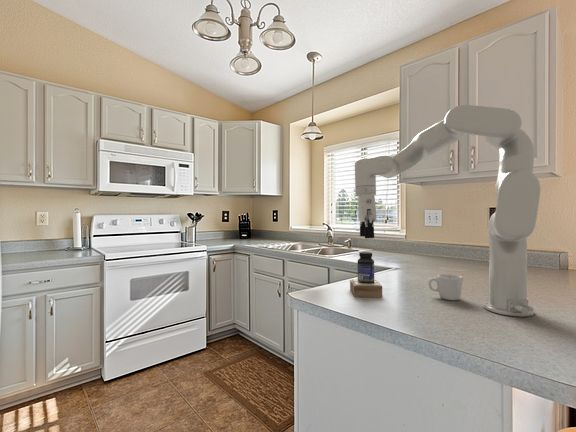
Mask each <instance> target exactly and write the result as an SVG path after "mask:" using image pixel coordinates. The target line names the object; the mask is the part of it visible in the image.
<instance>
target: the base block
mask: <svg viewBox="0 0 576 432" xmlns="http://www.w3.org/2000/svg"><path fill="white" fill-rule="evenodd" d="M349 285H350V286H349V289H350V293H351V294H352V295H353V296H352V297H354V298H383V286H382V284H381V283H380V282H379V281H377V280H376V279H374V283H370V284H367V283H360V282H358V279H350V280H349Z"/></svg>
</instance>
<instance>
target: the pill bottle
mask: <svg viewBox="0 0 576 432" xmlns="http://www.w3.org/2000/svg"><path fill="white" fill-rule="evenodd" d="M358 256H359V258H358V259H357V280H358V282H360V283H367V284H370V283H374V280H375V260H374V259H373V252H369V251H363V252H362V251H361V252H359V255H358Z"/></svg>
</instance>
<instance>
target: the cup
mask: <svg viewBox="0 0 576 432" xmlns="http://www.w3.org/2000/svg"><path fill="white" fill-rule="evenodd" d="M463 280H464V278H463V276H461V275H459V274H454V273H453V274H452V273H440V274H437V277H431V278H430V279H429V280H428V287H429V289H430V290H431V291H434V292H438V294H439V297H440V298H441V299H444V300H447V301H458V300H460V299H461V295H462V287H463ZM433 281H435V282H436V287H433V286H432V282H433Z"/></svg>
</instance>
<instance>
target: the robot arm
mask: <svg viewBox="0 0 576 432" xmlns="http://www.w3.org/2000/svg"><path fill="white" fill-rule="evenodd" d="M521 127H522V117H521V116H520V114H519V113H518V112H516V111H515V110H513V109H510V108H506V107H505V108H503V107H494V106H484V105H474V104H473V105H471V104H459V105H456V106H454V107H453V108H450V109H449V110H448V111H447V113H446V114H445V117H444V119H442V120H440V121H438V122H437V123H435V124H433V125H432V126H430V127H428V128H425V130H423V131H421V132H419V133H418V134H417V135H416V136H414V138H413V139H412V141H411V142H410V143H409V144H408V145H407V146H406V147H405V148H403V149H401V150H400V151H399V152H397V153H396V154H394V155H390V154H381V155H377V156H373V157H363V158H362V157H361V158H358V159H356V160H355V162H354V178H355V179H354V181H355V182H354V190H355V197H358V198H357V199H358V203H357V204H358V206H357V207H358V208H357V210H358V220H359V236H360V237H364V238H365V239H374V238H375V225H374V222H376V221H377V208H376V207H377V206H376V198H375V196H377V177H376V176H379V177H383V178H386V179H390V178H394V177H396V176H399V175H400V174H402V173H404V172H406V171H408V170H409V169H411V168H413V167H414V166H416V165H418V164H419V163H421V162H422V161H424V160H426V159H428V158H429V157H431V156H432V155H434V154H436V153H438V152H440V151H441V150H443V149H445V148H447V147H448V146H449V147H450V146H451V145H453V144H454V143H456V142H458V141H460V140H462V139H464V138H465V137H467V136H468V135H473V136H479V137H483V138H484V140H485V141H486V142H487V143H488V144H489V145H492V146H493V147H495V148H496V149H497V150H498V154H499V160H498V171H497V175H496V176H497V177H496V181H495V187H494V193H495V195H496V197H497V199H496V206H495V211H494V213H492V215H490V218H489V220H488V241H489V242H488V243H489V245H488V246H489V248H488V249H489V263H488V264H489V265H488V266H489V269H488V271H489V273H488V280H489V283H488V284H489V285H488V286H489V288H488V289H489V291H488V298H489V299H488V300H487V301H485V302H483V308H484V309H486V310H487V311H489V312H492V313H495V314H500V315H505V316H510V317H531V316H533V315H534V311H535V310H534V307H532V306H530V305H529V300H528V243H527V242H528V241H527V240H528V239H527V238H529V237H530V236H532V234H533V233H534V230H535V228H536V223H537V220H538V218H537V217H538V210H539V203H540V196H541V183H540V180H539V178H538V176H536V175H535V174H534V173H533V172H534V161H535V160H534V159H535V146H534V142H533V141H532V139H531V137H530V136H529V135H528V134H527V132H525V131H524V130H523V129H521Z"/></svg>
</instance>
